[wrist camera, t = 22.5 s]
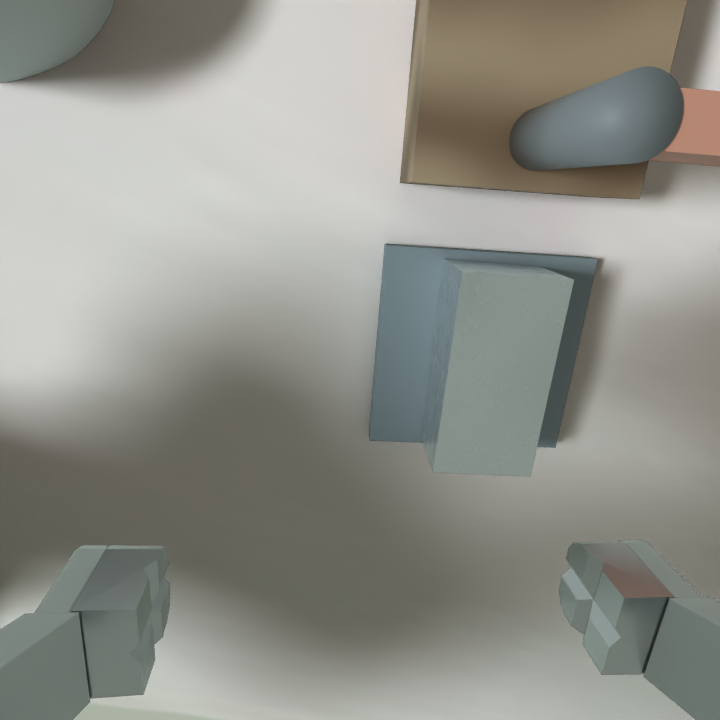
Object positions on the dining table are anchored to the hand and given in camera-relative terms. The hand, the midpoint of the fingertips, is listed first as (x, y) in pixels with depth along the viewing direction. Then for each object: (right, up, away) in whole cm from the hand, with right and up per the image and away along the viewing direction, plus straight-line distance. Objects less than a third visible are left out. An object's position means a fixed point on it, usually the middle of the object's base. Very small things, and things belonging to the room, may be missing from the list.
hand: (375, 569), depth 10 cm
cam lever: (+13, +13, +11) cm, 21 cm away
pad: (+6, +5, +18) cm, 19 cm away
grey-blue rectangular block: (+6, +5, +17) cm, 19 cm away
